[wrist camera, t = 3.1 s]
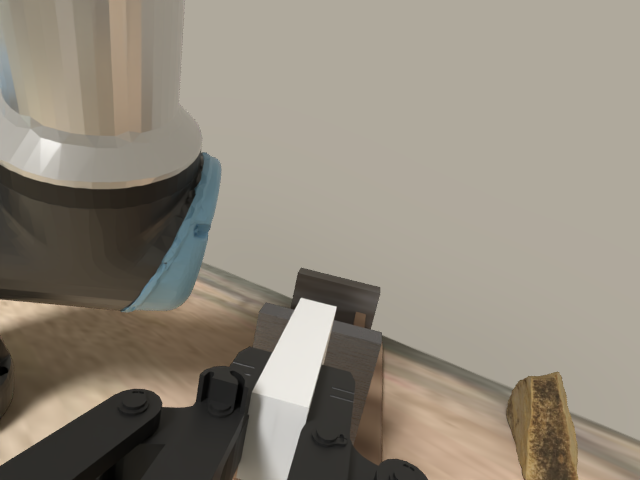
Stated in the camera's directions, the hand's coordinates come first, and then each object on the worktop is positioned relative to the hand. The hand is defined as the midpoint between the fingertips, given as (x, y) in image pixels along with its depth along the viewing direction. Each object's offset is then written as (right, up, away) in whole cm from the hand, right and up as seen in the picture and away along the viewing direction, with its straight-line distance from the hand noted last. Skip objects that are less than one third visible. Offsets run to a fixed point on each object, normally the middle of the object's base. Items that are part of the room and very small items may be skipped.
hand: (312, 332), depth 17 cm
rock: (+21, -17, +23) cm, 36 cm away
